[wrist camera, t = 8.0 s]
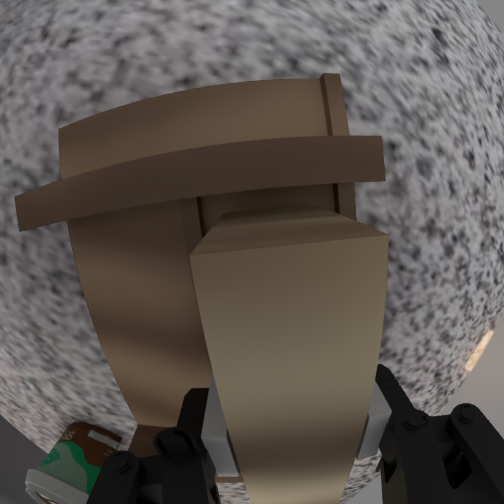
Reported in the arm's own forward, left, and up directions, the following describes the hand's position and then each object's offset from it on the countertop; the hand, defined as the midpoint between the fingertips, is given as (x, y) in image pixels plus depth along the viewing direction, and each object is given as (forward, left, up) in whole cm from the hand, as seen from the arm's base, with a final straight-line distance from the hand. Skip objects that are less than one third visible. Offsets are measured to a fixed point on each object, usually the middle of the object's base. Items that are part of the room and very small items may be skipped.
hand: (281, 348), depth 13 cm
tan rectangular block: (0, 0, 0) cm, 1 cm away
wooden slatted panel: (0, -4, -2) cm, 4 cm away
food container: (+13, -20, -3) cm, 24 cm away
